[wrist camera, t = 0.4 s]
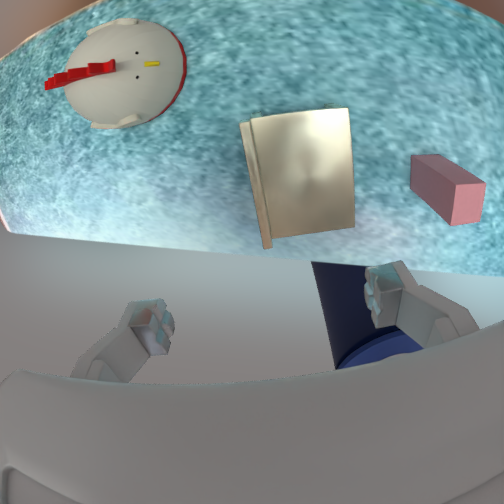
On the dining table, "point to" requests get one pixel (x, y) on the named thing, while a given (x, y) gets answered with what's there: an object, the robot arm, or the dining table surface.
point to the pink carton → (447, 188)
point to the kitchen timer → (123, 73)
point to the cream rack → (300, 171)
